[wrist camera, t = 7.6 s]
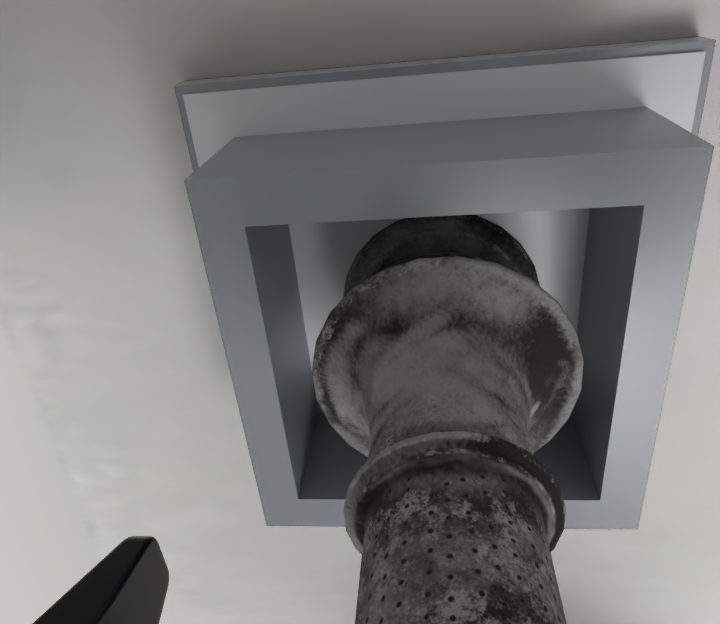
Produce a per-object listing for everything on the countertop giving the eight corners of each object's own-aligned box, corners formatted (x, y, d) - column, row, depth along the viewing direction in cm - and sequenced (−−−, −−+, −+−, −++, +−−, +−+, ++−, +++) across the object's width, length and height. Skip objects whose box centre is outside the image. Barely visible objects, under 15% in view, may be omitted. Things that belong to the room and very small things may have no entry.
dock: (629, 445, 19) (681, 563, 15) (266, 448, 20) (231, 556, 17) (699, 36, 13) (813, 61, 9) (185, 80, 15) (103, 117, 11)
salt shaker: (295, 327, 17) (91, 891, 6) (409, 153, 14) (377, 641, 4) (463, 421, 18) (521, 1032, 8) (600, 276, 15) (982, 918, 5)
